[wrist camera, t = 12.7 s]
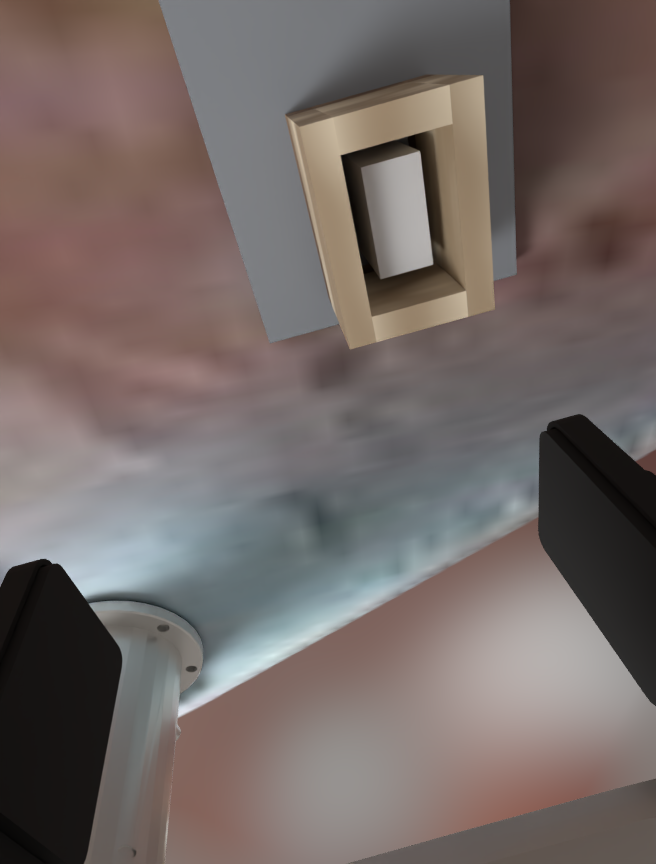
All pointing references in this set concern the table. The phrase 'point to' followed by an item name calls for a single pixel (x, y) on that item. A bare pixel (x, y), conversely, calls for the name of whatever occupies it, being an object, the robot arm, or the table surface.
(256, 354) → the table surface
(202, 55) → the pin board
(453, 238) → the sleeve
